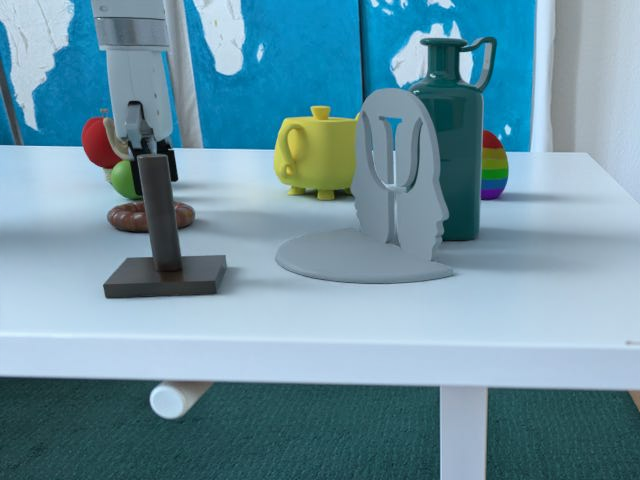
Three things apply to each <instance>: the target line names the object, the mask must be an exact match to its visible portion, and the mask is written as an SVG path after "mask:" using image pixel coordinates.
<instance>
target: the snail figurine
mask: <svg viewBox="0 0 640 480" xmlns="http://www.w3.org/2000/svg"><path fill="white" fill-rule="evenodd" d="M99 112H100V113H102V114H101V115H102V117H103V119H104V120H103V124H104V126H105V128H106V132H107V136H108V139H109V142H110V145H111V147H112V149H113V151H114V152H115V154H116V155H118V156H119V157H120V158H122V159H123V160H124V161H121V162H119V163H118V164H116V165H115V167H114V168H113V170H112V172H111V182H112V184H111V186H112V187H113V189H114V190H115V191H116V192H117V194H119V195H120V196H121V197H124V198H126V199H129V200H140V199H144V198H143V196H138V195H136V193H135V189H134V183H133V177H132V172H131V166H130V159H129V147H128V145H127V143H128V142H127V141H126V142H122V141H120V140H119V139H118V138H117V137H116V132H115V129H114V122H113V120H112V119H113V118H111V117H109V116H108V115H106V116H104V114H105V113H106V114H108V113H109V109H108V108H100V109H99ZM104 117H106V118H104Z"/></svg>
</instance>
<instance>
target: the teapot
mask: <svg viewBox="0 0 640 480" xmlns="http://www.w3.org/2000/svg"><path fill="white" fill-rule="evenodd" d="M310 111H311V114H312V116H298V117H297V116H295V117H294V116H293V117H285V118H284V119H283V121H282V123H281V126H280V129H279V131H278V133H277V138H276V142H275V146H274V151H273V152H274V153H273V171H274V174H275V176H276V177H277V179H278V180H279V181H280V183H281V184H283V185H286V186H289V187H290V186H291V187H290V189H289V191H288V192H287V195H290V196H301V195H305V193H306V190H307V189H311V190H317V197H316V199H317V200H321V201H331V200H335V193H334V190H344V192H345V194H346V195H353V194H352V193H351V184H352V181H353V178H354V174H355V170H356V164H357V162H356V156H355V137H356V128H357V121H358V117H359V114H360V111H359V112H358V113H357V114H356V116H355V118H347V117H335V116H330V113H331V107H330V106H328V105H312V106H310Z"/></svg>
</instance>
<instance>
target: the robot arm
mask: <svg viewBox="0 0 640 480" xmlns="http://www.w3.org/2000/svg"><path fill="white" fill-rule="evenodd" d="M90 6H91V10H92V15H93V16H92V17H93V21H94V28H95V32H96V39H97V44H98V48H99V51H106V53H105V54H106V69H107V71H106V72H107V81H108V89H109V96H110V102H111V110H112V119H114V125H115V132H116V137H117V138H118V139H119V140H120V141H122V142H126V141H127V142H128V143H127V145H128V147H129V159H130V166H131V172H132V177H133V183H134V189H135V193H136V195H138V196H143V192H142V185H141V179H140V172H139V166H138V160H137V156H138V155H143V154H164V155H167V156H168V163H169V171H170V178H171V183H177V182H178V181H179V173H178V166H177V161H176V154H175V149H174V146H173V145H174V144H173V141H172V137H171V135H172V133H173V130H174V126H173V125H174V124H173V116H172V108H171V101H170V95H169V88H168V82H167V76H166V69H165V66H164V61H163V60H164V59H163V56H162V52H171V51H172V50H171V46H170V38H169V32H168V23H167V18H166V10H165V5H164V0H90Z"/></svg>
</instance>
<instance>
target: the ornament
mask: <svg viewBox="0 0 640 480" xmlns="http://www.w3.org/2000/svg"><path fill="white" fill-rule="evenodd" d="M359 112H360V114H359V117H358V121H357V128H356V137H355V156H356V162H357V164H356V170H355V174H354V178H353V181H352V184H351V193H352V194H351V195H352V196H353V197H354V199H355V200H354V207H355V210H356V212H355V214H356V218H357V220H358V223H359V230H358V229H355V228H353V227H346V228H338V229H328V230H322V231H317V232H311V233H308V234H303V235H300V236H297V237H294V238H292V239H290V240H288V241H285V242H284V243H283V244H281V245H280V246H279V247H278V248H277V249H276V251H275V254H274V255H275V256H274V258H275V261H276V263H277V264H278V265H279V266H280V267H282V269H284V270H287V271H289V272H292V273H295V274H297V275H301V276H304V277H309V278H314V279H319V280H324V281H331V282H333V281H334V282H341V283H342V282H343V283H354V284H400V283H401V284H402V283H412V282H413V283H414V282H422V281H430V280H431V281H432V280H436V279H437V280H438V279H443V278H446V277H451V276H454V275H455V271H454V269H453V267H451V266H449V265H446V264H443V263H441V262H439V261H437V260H438V256H439V247H440V245H441V244H442V243H443V240H442V237H441V235H443V233H444V228H443V221H444V220H447V219H448V218H449V211H448V208H447V206H446V203H445V200H444V198H443V194H442V191H441V187H440V183H439V176H440V155H439V148H438V142H437V136H436V132H435V128H434V125H433V122H432V120H431V118H430V115H429V113H428V111H427V109H426V107H425V106H424V104H423V103H422V102H421V101H420V100H419V99H418V98H417V97H416V96H415V95H414V94H412V93H411V92H409V91H407V89H402V88H396V87H385V88H379V89H376V90H374V91H372V93H370V94H369V95H368V96H367V97H366V98H365V100H364V102H363V104H362V106H361V108H360V111H359ZM386 118H391V119H401V122H399V123H398V124H397V126H396V129H395V138H394V136H393V129H392V125H391V123H390V121H389V120H387V119H386ZM422 122H423V125H422V127H421V133H420V160H419V170H418V176H417V180H416V183H415V185H414V187H413V188H412V189H411V190H410V191H409V192H408V193H406V192H399V193H396V194H395V190H392V189H390V188H388V187H387V185H395V187H396V188H406V187H407V186H409V185H411V183H412V182H413V180H414V178H415V174H416V170H417V146H418V135H419V130H420V126H421V124H422ZM394 149H395V150H394ZM394 156H395V157H394ZM394 159H395V162H394ZM394 163H395V165H394ZM394 166H395V169H394ZM394 170H395V171H394ZM395 196H396V198H395ZM395 199H396V215H395ZM395 216H396V218H395ZM395 219H396V220H395ZM395 229H396V230H395ZM395 231H397V239H398V243H399V246H398V245H396V244H394V243H392V241H393V239H394V236H395Z"/></svg>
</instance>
